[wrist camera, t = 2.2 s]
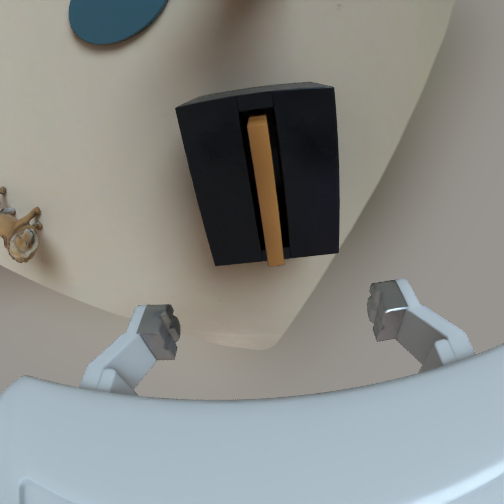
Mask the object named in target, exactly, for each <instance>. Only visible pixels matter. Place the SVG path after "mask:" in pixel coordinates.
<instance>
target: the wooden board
mask: <svg viewBox="0 0 504 504" xmlns="http://www.w3.org/2000/svg"><path fill="white" fill-rule="evenodd" d="M247 130H248V136H249V142H250V148H251V155H252V161H253V167H254V174H255V180H256V187H257V193H258V200H259V206H260V213H261V219H262V226H263V233H264V239H265V246H266V253H267V260H268V266H269V267H270V266H279V265H284V257H283V247H282V238H281V229H280V220H279V211H278V202H277V194H276V186H275V178H274V170H273V162H272V154H271V147H270V139H269V132H268V125H267V119H266V113H265V108H263V109H255V110H251V111H250V115H249V120H248V124H247Z"/></svg>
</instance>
